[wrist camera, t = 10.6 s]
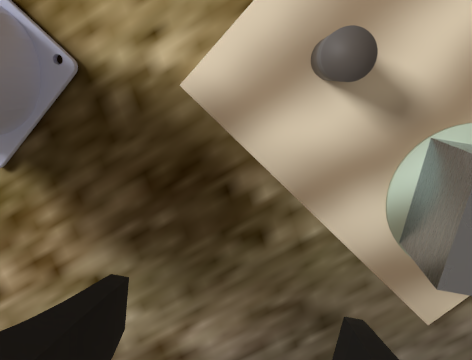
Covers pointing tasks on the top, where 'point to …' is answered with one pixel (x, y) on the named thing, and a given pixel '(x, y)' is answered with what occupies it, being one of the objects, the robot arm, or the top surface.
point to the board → (348, 113)
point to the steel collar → (443, 217)
